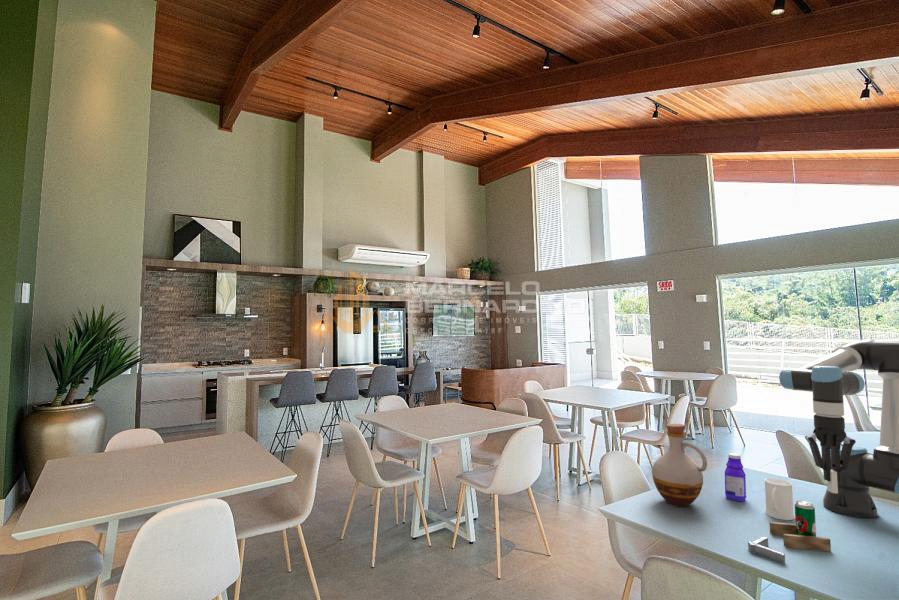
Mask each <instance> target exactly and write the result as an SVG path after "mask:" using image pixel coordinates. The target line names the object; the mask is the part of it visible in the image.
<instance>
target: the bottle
mask: <svg viewBox="0 0 899 600" xmlns="http://www.w3.org/2000/svg"><path fill="white" fill-rule="evenodd" d="M727 457H728V458H727V462H726V464H725V465H726V468H725V470H724V494H725V497H726V498H727V499H729V500H733V501H739V502H744V501H746V499H747V484H746V482H747V481H746V480H747V479H746V476H747V475H746V473H745V471H744V465H743V463H742V460H741V457H742V456H741V454H738V453H733V452H730V453H728V456H727Z"/></svg>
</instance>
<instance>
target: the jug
mask: <svg viewBox="0 0 899 600" xmlns="http://www.w3.org/2000/svg"><path fill="white" fill-rule="evenodd" d="M665 427H666V429H667V431H666V435H667V437H668V441H669V442H668V443H669V444H668V445H669V448H668V450H666V451H665V452H664V453H663V454H662V455H661V456H659V457H658V458H657V459H656V460H654V463H653V464H652V467H651V475H652V480H653V483H654V486H655V487H656V490H657V492H658V493H659V495H660V496H661V498H663V499H664V501H665V502H666V503H667V504H668V505H670V506H673V507H678V508H688V507H690V506H691V505H692V504H693V503H694V502H695V501H696V500H697V498H699V496H700V493H701V491H702V488H703V485H704V475H703V472H704V471H706V470H707V466H708V460H707V457H706V455H705V453H704V452H703V451H702V450H701V449H700V448H699V447H698V446H697V445H695V444H694V443H691V442H684V437H685V436H686V433H685V431H684V430H685V428H686V425H685V424H683V423H682V424H681V423H667V424H665ZM686 447H688V448H691V449H693V450H695V451H696V452H697V453H698V454H699V456H700V457H701V460H702V465H701V467H700V466H699V464H697V463H696V462H695V461H694V459H692V458H691V457H690V456H689V455H688V454H687V452H685V448H686Z"/></svg>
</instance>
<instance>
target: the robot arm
mask: <svg viewBox="0 0 899 600" xmlns="http://www.w3.org/2000/svg"><path fill="white" fill-rule="evenodd" d="M857 370H867V371H869V370H870V371H877V375H878V376H879V377H880V378H881V379H882V380H883V381H882V396H881V397H882V399H881V400H882V401H881V415H880V416H881V417H880V430H879V432H880V435H879V445H878V446H876V447H874V448H873V453H868V449H867V448H865V447H862V446H855V444H856V442H857V441H856V439H853V438H851V437H849V436H847V433H846V431H845V428H846V427H845V426H846V424H845V421H846V420H845V418H844V417H843V416H845V407H844V406H845V405H844V396H854V395H856V394H860V393H861V392H862V391H863V390H864V388H865V384H866V383H865V381H864V378H863V377H862V376H861V375H860V374H859V373H857V372H854V371H857ZM778 377H779V383H780V386H782V388H784V389H788V390H793V391H800V392H801V391H802V392H812V406H813V407H812V408H813V413H814V415H813V426H814V429H813V431H812V434H810V435H805V436H804V438H805V440H806V441H807V442H808V445H809V448H810V450H811V455H812V458H813V461H814V463H815V466H816V467H818V468H820V469H822V471H823V479H824V481H826V491H825V493H824V496H823V499H822V502H823V507H824V508H826V509H827V510H828V511H832V512H835V513H836V514H837V513H838V514H840V515H845V516H850V517H854V518H855V517H856V518H863V519H871V518H872V519H873V518H877V517H878V508H877V506H876V504H875V502H874V499H873V497H872V495H871V493H870V488H872V489H876V490H882V491H885V492H888V493H894V494H896V495H899V339H861V340H857V341H854V342H849V343H845V344H844V345H843V344H842V345H841V346H838V347H837V348H835V349H833V350H832V352H831V353H830V354H828V355H825V356H823V357H821V358H818V359H816V360H813V361H811V362H810V363H807V364H805V365H802V366H800V367H797V368H794V367H793V368H792V367H785V368H782V369H781V370H780V372H779V376H778ZM817 441H818V442H819V445H820V448H821V452H820V449H819V445H818V443H817ZM841 444H842V445H841Z"/></svg>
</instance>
